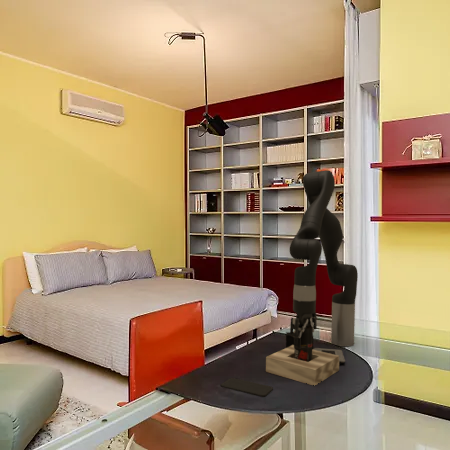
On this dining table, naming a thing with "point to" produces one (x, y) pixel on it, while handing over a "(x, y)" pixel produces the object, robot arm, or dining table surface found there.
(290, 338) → the digital camera
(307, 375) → the holder
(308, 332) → the deodorant
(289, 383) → the dining table surface
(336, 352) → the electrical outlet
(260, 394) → the phone
